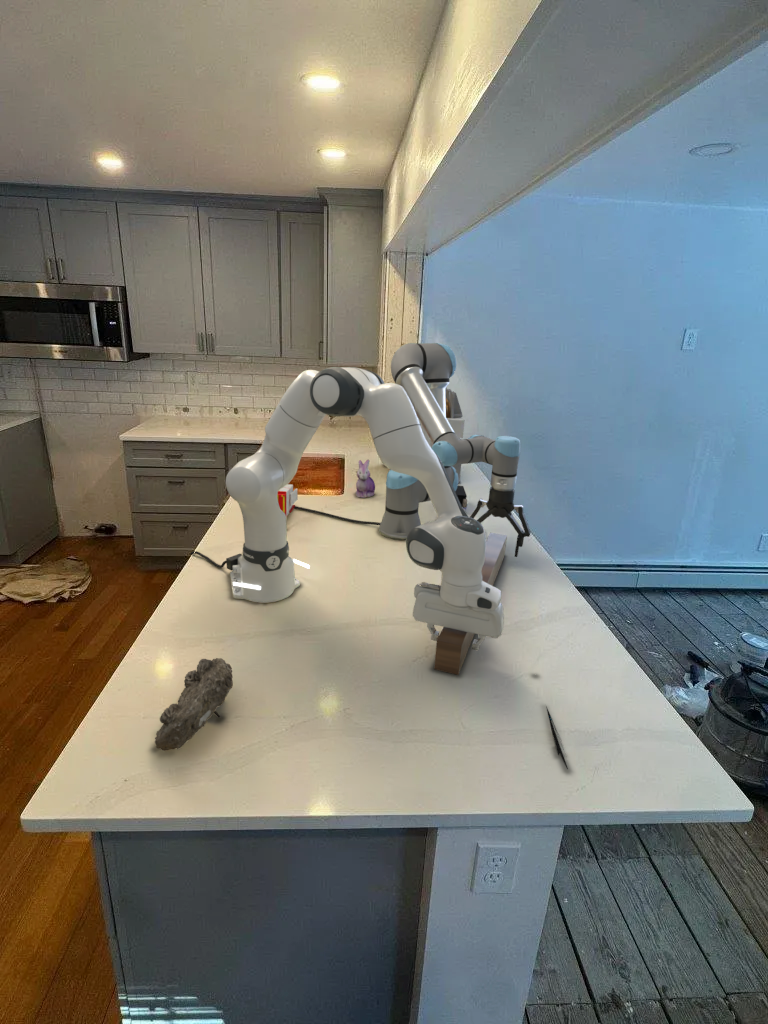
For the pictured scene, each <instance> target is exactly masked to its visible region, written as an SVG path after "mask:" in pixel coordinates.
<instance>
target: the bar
mask: <svg viewBox="0 0 768 1024" xmlns="http://www.w3.org/2000/svg"><path fill="white" fill-rule="evenodd" d="M507 539H508V535H507V534H502V533H496V532H489V534H488V536H487V537H486V549H485V560H484V564H483V567H482V570H481V573H482V581H484V582H486V583H487V584H489V585H491V586H493V587H494V584H495V581H496V579H497V577H498V574H499V571H500V568H501V566H502V565H503V564H502V563H503V562H504V558H505V554H506V547H507ZM474 636H475V634H474V633H469V632H465V631H460V630H456V629H451V628H447V627H442V628H441V631H440V632H439V637H438V639H437V641H436V645H435V654H434V658H435V659H434V665H433V669H434V670H435V671H440V672H445V673H448V674H452V675H456V676H459V674H460V673H461V669H462V668H463V667H462V666H463V665H464V662H465V659H466V657H467V654H468V652H469V649H470V646H471V645H472V642H473V640H474Z"/></svg>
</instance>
